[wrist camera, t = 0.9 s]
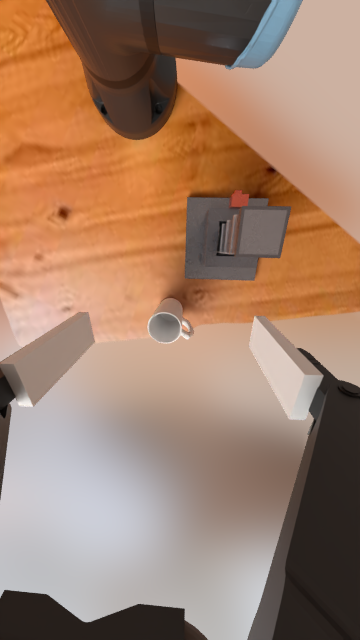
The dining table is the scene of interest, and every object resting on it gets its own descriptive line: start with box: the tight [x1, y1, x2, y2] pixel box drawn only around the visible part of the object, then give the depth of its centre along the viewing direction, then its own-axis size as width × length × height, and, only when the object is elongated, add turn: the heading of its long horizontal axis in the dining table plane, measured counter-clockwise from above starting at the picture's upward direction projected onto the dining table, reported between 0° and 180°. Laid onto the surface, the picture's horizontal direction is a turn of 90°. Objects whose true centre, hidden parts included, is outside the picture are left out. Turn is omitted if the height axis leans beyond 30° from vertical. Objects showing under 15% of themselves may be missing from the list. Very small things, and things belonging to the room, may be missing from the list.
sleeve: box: [185, 190, 268, 281], centre depth 34 cm, size 16×16×12 cm
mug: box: [148, 298, 194, 343], centre depth 41 cm, size 10×7×12 cm, turn 61°
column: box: [217, 206, 291, 258], centre depth 28 cm, size 5×5×22 cm
